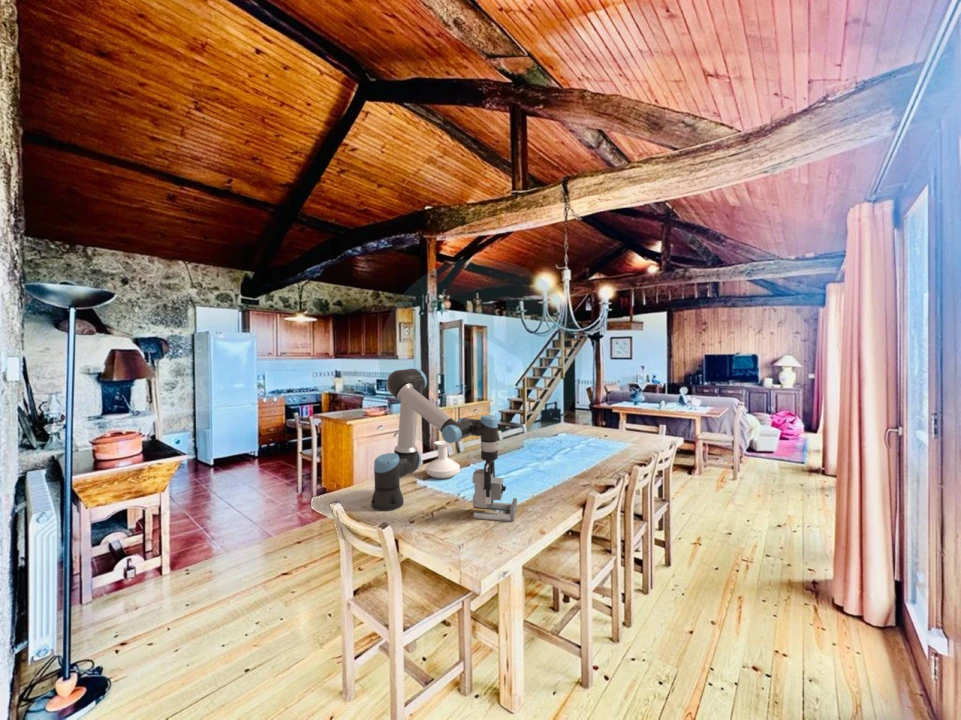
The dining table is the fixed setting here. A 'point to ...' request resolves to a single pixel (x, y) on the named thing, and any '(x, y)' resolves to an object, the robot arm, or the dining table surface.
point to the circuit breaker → (479, 494)
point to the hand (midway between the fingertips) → (489, 499)
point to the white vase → (442, 463)
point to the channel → (499, 516)
